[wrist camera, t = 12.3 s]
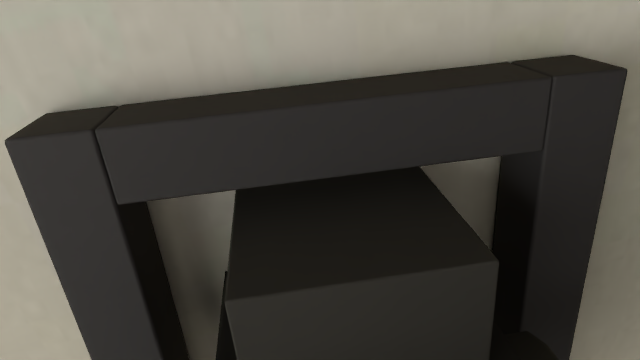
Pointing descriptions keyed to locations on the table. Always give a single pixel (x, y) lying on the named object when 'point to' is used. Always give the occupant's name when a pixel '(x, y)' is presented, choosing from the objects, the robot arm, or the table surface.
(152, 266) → the frame pad
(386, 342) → the black box
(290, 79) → the table surface
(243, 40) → the table surface
